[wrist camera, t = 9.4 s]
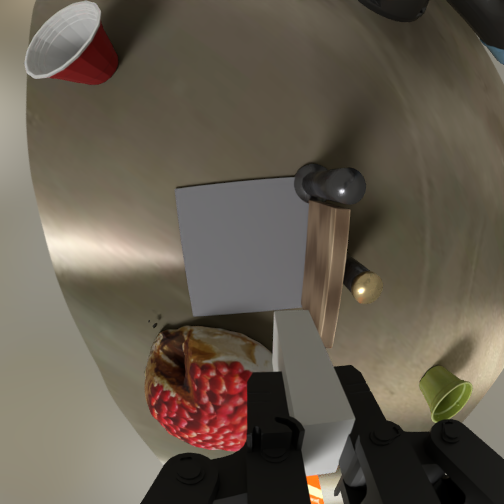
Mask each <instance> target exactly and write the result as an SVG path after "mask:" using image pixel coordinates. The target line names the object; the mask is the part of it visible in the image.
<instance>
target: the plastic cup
mask: <svg viewBox="0 0 504 504" xmlns="http://www.w3.org/2000/svg"><path fill="white" fill-rule="evenodd" d="M24 64H25V68H26V72H27V74H29V75H30V76H32V77H33V78H36V79H38V78H53V79H54V78H57V79H62V80H67V81H72V82H77V83H85V84H89V85H98V84H101V83H103V82H105V81H107V80H108V79H109V78H110V77H111V76H112V75H113V74H114V72H115V71H116V69H117V66H118V55H117V54H116V52H115V50H114V49H113V45H112V44H111V42H110V40H109V38H108V36H107V35H106V33H105V31H104V29H103V26H102V24H101V11H100V9H99V7H98V6H97V4H96V3H93V2H89V1H83V2H78V3H73V4H71V5H69V6H67V7H65V8H63V9H62V10H60V11H58V12H57V13H56V14H55V15H53V16H52V17H51V18H50V19H49V20H47V21H46V22H45V23H44V24H43V26H42V27H41V28H40V29H39V31H38V32H37V33H36V34H35V36H34V37H33V39H32V41H31V43H30V45H29V47H28V49H27V53H26V58H25V63H24Z"/></svg>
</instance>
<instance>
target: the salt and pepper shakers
mask: <svg viewBox="0 0 504 504" xmlns="http://www.w3.org/2000/svg"><path fill="white" fill-rule="evenodd" d="M294 188H295V191H296V194H297V195H298V197H299V198H300V199H301V200H303V201H304V202H306V203H309V200H314V201H321V202H324V201H326V200H331V201H335V202H339V203H344V204H355V203H357V202H359V201H360V200H361V199H362V198H363V196H364V194H365V191H366V183H365V179H364V177H363V176H362V174H361V173H360V172H359V171H357V170H356V169H353V168H340V169H332V170H327V169H326V168H325V167H323V166H321V165H318V164H309V165H306V166H304V167H302V168H301V169H299V170H298V172H297V173H296V175H295V179H294ZM343 284H344V285H345V286H346V287H347V288H348V289H349V291H350V292H351V293H352V295H353V297H354V298H355V299H356V300H357V301H358V302H360V303H362V304H369V303H372V302H374V301H375V300H376V299H377V298H378V297H379V296H380V294H381V292H382V288H383V284H382V280H381V278H380V277H379V276H378V275H376V274H375V273H374V272H371V271H370V270H368V269H367V268H366V267H364V266H363V265H362V264H360V263H359V262H358V261H357V260H355V259H354V258H353V257H351V256H350V255H349V254H347V253H346V262H345V270H344V278H343Z"/></svg>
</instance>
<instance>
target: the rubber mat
mask: <svg viewBox="0 0 504 504" xmlns="http://www.w3.org/2000/svg"><path fill="white" fill-rule="evenodd" d="M294 179H295V177H288V178H274V179H261V180H250V181H239V182H229V183H220V184H211V185H202V186H194V187H187V188H179V189H175V196H176V204H177V213H178V221H179V228H180V236H181V243H182V250H183V257H184V263H185V270H186V276H187V282H188V288H189V294H190V300H191V305H192V311H193V316H210V315H224V314H237V313H249V312H260V311H271V310H281V309H290V308H299V307H302V305H301V297H302V287H303V277H304V265H305V253H306V241H307V227H308V211H309V203H306V202H304V201H303V200H301V199H300V198H299V197H298V195H297V194H296V191H295V188H294Z"/></svg>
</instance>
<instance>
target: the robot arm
mask: <svg viewBox="0 0 504 504" xmlns="http://www.w3.org/2000/svg"><path fill="white" fill-rule="evenodd" d="M358 1H359V2H360V3H362V4H363V5H364V6H366V7H367V8H369V9H370V10H372V11H374V12H375V13H377V14H379V15H381V16H383V17H386V18H388V19H391V20H395V21H399V22H412V21H415V20H417V19H418V18H420V17H421V16H422V15H423V14H424V12H425V10H426V6H427V4H428V1H429V0H358ZM446 1H447V2H448V3H449V4H450V5H451V6H452V7H453V8H454V9H455V10H456V11H457V12H458V13H459V14H460V16H461V17H462V18H463V19H464V20H465V21H466V22H467V24H468V25H469V26H470V27H471V28H472V29H473V31H474V32H475V33H476V34H477V36H478V37H479V38H480V41H481V42H482V43H483V44H484V45H485V46H486V47H487V48H488V49H489V50H490V52H491V53H492V54H493V56H494V57H495V58H496V59H497V60H498V61H499V62H500V63H501V64H503V65H504V0H446ZM272 363H273V371H274V372H253V373H252V374H251V376H250V378H249V379H248V381H247V433H246V436H247V439H246V442H245V444H244V446H243V447H242V448H241V449H240V450H239V451H237V452H235V453H234V454H232V455H229V456H226V457H221V458H217V459H212V460H210V459H209V458H208V457H206V456H203V455H201V454H197V453H183V454H178V455H176V456H174V457H172V458H170V459H169V460H168V461H167V462H166V463H165V464H164V466H163V468H162V469H161V471H160V472H159V474H158V476H157V478H156V479H155V481H154V483H153V484H152V486H151V487H150V489H149V491H148V492H147V494H146V495H145V497H144V499H143V500H142V502H141V503H140V504H311V500H310V494H309V489H308V483H307V478H306V476H313V475H320V474H327V473H333V472H336V469H337V467H338V465H339V466H340V469H341V473H342V476H341V478H340V480H339V482H338V484H337V486H336V488H335V490H334V496H338V494H339V492H340V491H341V494H342V498H343V502H344V504H504V459H503V458H502V457H501V456H500V455H498V454H497V453H496V452H495V451H494V450H493V449H491V448H490V447H489V446H488V445H487V444H486V443H485V442H483V441H482V440H481V439H480V438H479V437H478V436H476V435H475V434H474V433H473V432H472V431H471V430H469V428H467V427H466V426H465V425H464V424H462V423H461V422H459V421H457V420H453V419H443V420H441V421H438V422H437V423H436V424H435V425H434V426H433V427H432V428H431V430H430V432H405V431H403V430H402V429H401V427H400V426H399V425H397V424H395V423H393V422H391V421H387V420H386V419H385V417H384V415H383V413H382V411H381V409H380V407H379V405H378V404H377V402H376V400H375V398H374V396H373V394H372V392H371V391H370V389H369V387H368V385H367V384H366V381H365V379H364V377H363V376H362V374H361V372H360V371H358V370H357V369H356V368H354V367H353V366H352V365H346V366H337V367H333V365H332V362H331V360H330V358H329V355H328V353H327V351H326V349H325V346H324V344H323V342H322V340H321V337H320V335H319V333H318V331H317V328H316V326H315V324H314V322H313V319H312V317H311V315H310V313H309V310H290V311H274V329H273V357H272ZM445 473H446V474H447V475H445Z"/></svg>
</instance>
